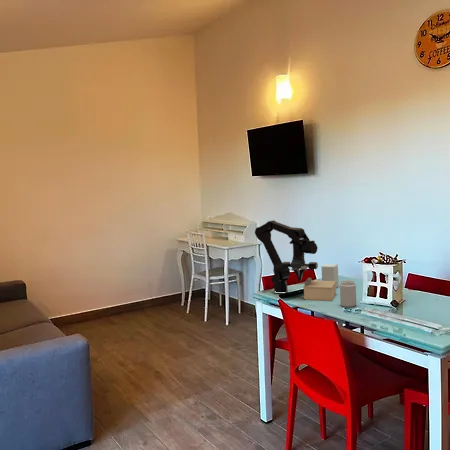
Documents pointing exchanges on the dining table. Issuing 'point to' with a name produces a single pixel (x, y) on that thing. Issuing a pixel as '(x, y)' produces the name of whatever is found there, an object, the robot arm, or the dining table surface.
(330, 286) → the lid
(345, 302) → the can
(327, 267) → the supplement box
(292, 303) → the dining table surface
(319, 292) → the mailer box
